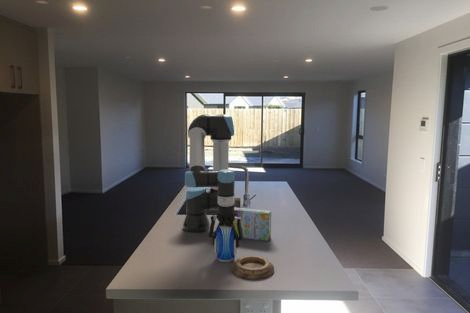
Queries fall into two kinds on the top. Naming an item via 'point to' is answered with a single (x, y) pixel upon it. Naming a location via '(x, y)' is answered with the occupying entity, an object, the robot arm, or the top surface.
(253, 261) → the round brown bowl
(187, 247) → the top surface
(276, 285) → the top surface
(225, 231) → the beer can
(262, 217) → the snack box
